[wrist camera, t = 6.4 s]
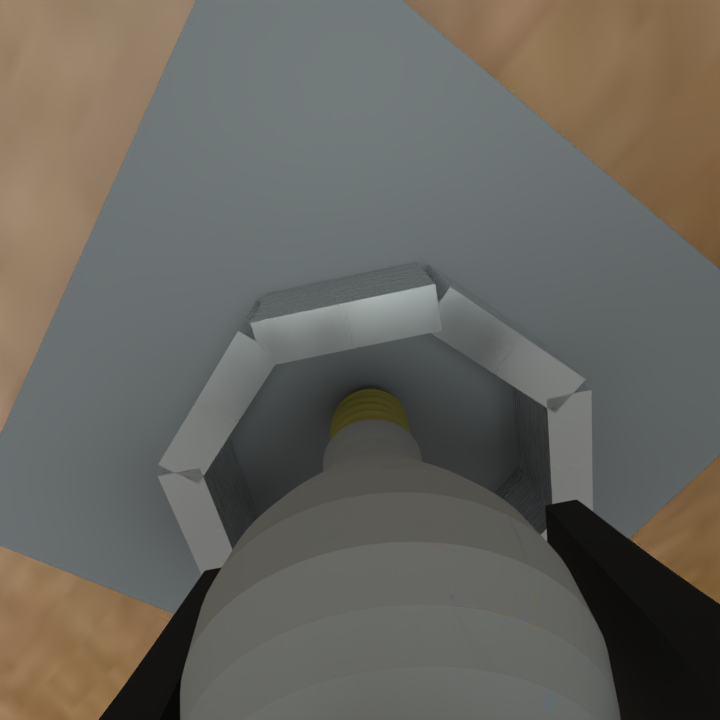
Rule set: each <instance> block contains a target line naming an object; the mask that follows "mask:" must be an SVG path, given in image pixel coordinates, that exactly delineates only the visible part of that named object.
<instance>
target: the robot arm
mask: <svg viewBox="0 0 720 720" xmlns="http://www.w3.org/2000/svg"><path fill="white" fill-rule="evenodd" d="M545 512H546V529H547V542H548V544H549V545H550V546H551V547H552V548H553V549H554V550H555V551H556V553H557V554H558V555H559V556H560V557H561V559H562V560H563V562H564V563H565V565H566V566H567V568H568V569H569V571H570V573H571V575H572V577H573V579H574V581H575V582H576V584H577V586H578V588H579V590H580V592H581V594H582V596H583V598H584V600H585V602H586V604H587V606H588V607H589V609H590V611H591V613H592V615H593V617H594V619H595V621H596V623H597V625H598V627H599V629H600V631H601V633H602V635H603V637H604V641H605V644H606V647H607V651H608V655H609V660H610V665H611V670H612V675H613V680H614V685H615V690H616V695H617V700H618V705H619V711H620V718H621V720H720V604H719V603H717V602H716V601H714V600H713V599H711V598H710V597H708V596H707V595H705V594H704V593H703V592H701V591H700V590H698V589H697V588H695V587H694V586H693V585H691V584H690V583H688V582H687V581H686V580H684V579H683V578H681V577H680V576H679V575H677V574H676V573H674V572H673V571H671V570H670V569H669V568H667V567H666V566H664V565H663V564H662V563H660V562H659V561H658V560H656V559H655V558H653V557H652V556H651V555H649V554H648V553H647V552H645V551H644V550H643V549H641V548H640V547H639V546H637V545H636V544H635V543H633V542H632V541H631V540H629V539H628V538H627V537H625V536H624V535H623V534H622V533H620V532H619V531H618V530H616V529H615V528H614V527H612V526H611V525H610V524H609V523H607V522H606V521H605V520H603V519H602V518H601V517H599V516H598V515H597V514H596V513H594V512H593V511H592V510H590V509H589V508H588V507H587V506H585V505H584V504H583V503H581V502H580V501H578V500H577V499H576V500H571V501H565V502H560V503H555V504H550V505H545ZM221 568H222V567H221ZM221 568H215V569H210V570H205V571H204V572H203V574H202V575H201V577H200V578H199V580H198V581H197V582H196V584H195V585H194V587H193V588H192V589H191V591H190V592H189V594H188V595H187V597H186V598H185V600H184V601H183V602H182V604H181V605H180V607H179V608H178V610H177V611H176V613H175V614H174V616H173V617H172V619H171V620H170V621H169V623H168V624H167V626H166V627H165V629H164V630H163V632H162V633H161V634H160V636H159V637H158V639H157V640H156V642H155V643H154V645H153V646H152V647H151V649H150V650H149V652H148V653H147V654H146V656H145V657H144V659H143V660H142V661H141V663H140V664H139V666H138V667H137V668H136V670H135V671H134V673H133V674H132V675H131V677H130V678H129V680H128V681H127V683H126V684H125V685H124V687H123V688H122V689H121V691H120V692H119V693H118V695H117V696H116V697H115V699H114V700H113V701H112V703H111V704H110V705H109V707H108V708H107V709H106V711H105V712H104V713H103V715H102V716H101V717H100V718H99V720H180V689H181V679H182V675H183V671H184V667H185V663H186V659H187V656H188V652H189V649H190V645H191V642H192V638H193V635H194V631H195V628H196V624H197V621H198V617H199V614H200V610H201V607H202V604H203V602H204V599H205V597H206V594H207V592H208V590H209V588H210V587H211V585H212V583H213V581H214V579H215V578H216V576H217V575H218V573H219V571H220V570H221Z"/></svg>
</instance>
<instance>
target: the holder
mask: <svg viewBox="0 0 720 720" xmlns="http://www.w3.org/2000/svg"><path fill="white" fill-rule="evenodd" d="M367 388H375V389H380V390H384V391H386V392H388V393H391V394H392V395H394V396H395V397H396V398H397V399H398V400H399V401H400V402H401V403H402V405H403V407H404V408H405V411H406V415H407V418H408V425H409V430H410V432H411V435H412V436H413V438H414V439H415V441H416V442H417V444H418V446H419V449H420V453H421V457H422V462H425V463H428V464H431V465H434V466H437V467H440V468H443V469H446V470H449V471H451V472H453V473H456V474H458V475H460V476H462V477H464V478H466V479H468V480H470V481H472V482H474V483H476V484H478V485H480V486H482V487H484V488H486V489H488V490H489V491H491V492H493V493H495V494H496V495H498V496H499V497H501V498H502V499H504V500H505V501H506V502H508V503H509V504H510V505H511V506H513V507H514V508H515V509H516V510H517V511H518V512H519V513H520V514H521V515H522V516H523V517H524V518H525V519H526V520H527V521H528V522H529V523H530V524H531V525H532V526H533V528H534V529H535V530H536V531H537V532H538V533H539V534H540V535H541V536H542V537H543V538H544V539H545V540H546V541H547V529H546V512H545V505H550V504H555V503H560V502H565V501H571V500H576V499H577V500H578V501H580V502H581V503H583V504H584V505H585V506H587V507H588V508H589V509H590V510H592V511H593V512H594V513H596V514H597V515H598V516H599V517H601V518H602V519H603V520H605V521H606V522H607V523H609V524H610V525H611V526H612V527H614V528H615V529H616V530H618V531H619V532H620V533H622V534H623V535H624V536H625V537H627V538H628V539H630V538H631V537H632V536H633V535H634V534H635V533H636V532H637V531H638V530H639V529H640V528H641V527H642V526H644V525H645V524H646V523H647V522H648V521H649V520H650V519H651V518H652V517H653V516H654V515H655V514H656V513H657V512H659V511H660V510H661V509H662V508H663V507H664V506H665V505H666V504H667V503H668V502H669V501H670V500H671V499H673V498H674V497H675V496H676V495H677V494H678V493H679V492H680V491H681V490H682V489H683V488H684V487H685V486H687V485H688V484H689V483H690V482H691V481H692V480H693V479H694V478H695V477H696V476H697V475H698V474H699V473H701V472H702V471H703V470H704V469H705V468H706V467H707V466H708V465H709V464H710V463H711V462H712V461H713V460H714V459H716V458H717V457H718V456H719V455H720V269H719V268H718V267H717V266H715V265H714V264H713V263H712V262H711V261H710V260H708V259H707V258H706V257H705V256H704V255H702V254H701V253H700V252H699V251H698V250H697V249H695V248H694V247H693V246H692V245H691V244H689V243H688V242H687V241H686V240H685V239H684V238H682V237H681V236H680V235H679V234H678V233H676V232H675V231H674V230H673V229H672V228H671V227H669V226H668V225H667V224H666V223H665V222H664V221H662V220H661V219H660V218H659V217H658V216H656V215H655V214H654V213H653V212H652V211H651V210H649V209H648V208H647V207H646V206H645V205H643V204H642V203H641V202H640V201H639V200H638V199H636V198H635V197H634V196H633V195H632V194H630V193H629V192H628V191H627V190H626V189H625V188H623V187H622V186H621V185H620V184H619V183H617V182H616V181H615V180H614V179H613V178H612V177H610V176H609V175H608V174H607V173H606V172H604V171H603V170H602V169H601V168H600V167H599V166H597V165H596V164H595V163H594V162H593V161H591V160H590V159H589V158H588V157H587V156H586V155H584V154H583V153H582V152H581V151H580V150H578V149H577V148H576V147H575V146H574V145H573V144H571V143H570V142H569V141H568V140H567V139H565V138H564V137H563V136H562V135H561V134H560V133H558V132H557V131H556V130H555V129H554V128H552V127H551V126H550V125H549V124H548V123H547V122H545V121H544V120H543V119H542V118H541V117H540V116H538V115H537V114H536V113H535V112H534V111H532V110H531V109H530V108H529V107H528V106H527V105H525V104H524V103H523V102H522V101H521V100H519V99H518V98H517V97H516V96H515V95H514V94H512V93H511V92H510V91H509V90H508V89H506V88H505V87H504V86H503V85H502V84H501V83H499V82H498V81H497V80H496V79H495V78H493V77H492V76H491V75H490V74H489V73H488V72H486V71H485V70H484V69H483V68H482V67H480V66H479V65H478V64H477V63H476V62H475V61H473V60H472V59H471V58H470V57H469V56H467V55H466V54H465V53H464V52H463V51H462V50H460V49H459V48H458V47H457V46H456V45H454V44H453V43H452V42H451V41H450V40H449V39H447V38H446V37H445V36H444V35H443V34H441V33H440V32H439V31H438V30H437V29H436V28H434V27H433V26H432V25H431V24H430V23H429V22H427V21H426V20H425V19H424V18H423V17H421V16H420V15H419V14H418V13H417V12H416V11H414V10H413V9H412V8H411V7H410V6H408V5H407V4H406V3H405V2H404V1H403V0H196V1H195V3H194V5H193V7H192V10H191V12H190V14H189V16H188V19H187V21H186V23H185V25H184V27H183V30H182V32H181V34H180V36H179V39H178V41H177V43H176V45H175V47H174V50H173V52H172V54H171V56H170V59H169V61H168V63H167V65H166V67H165V70H164V72H163V74H162V76H161V79H160V81H159V83H158V85H157V87H156V90H155V92H154V94H153V96H152V99H151V101H150V103H149V105H148V107H147V110H146V112H145V114H144V116H143V119H142V121H141V123H140V125H139V127H138V130H137V132H136V134H135V136H134V139H133V141H132V143H131V145H130V148H129V150H128V152H127V154H126V156H125V159H124V161H123V163H122V165H121V168H120V170H119V172H118V174H117V176H116V179H115V181H114V183H113V185H112V188H111V190H110V192H109V194H108V196H107V199H106V201H105V203H104V205H103V208H102V210H101V212H100V214H99V216H98V219H97V221H96V223H95V225H94V228H93V230H92V232H91V234H90V236H89V239H88V241H87V243H86V245H85V248H84V250H83V252H82V254H81V256H80V259H79V261H78V263H77V265H76V268H75V270H74V272H73V274H72V276H71V279H70V281H69V283H68V285H67V288H66V290H65V292H64V294H63V297H62V299H61V301H60V303H59V305H58V308H57V310H56V312H55V314H54V317H53V319H52V321H51V323H50V325H49V328H48V330H47V332H46V334H45V337H44V339H43V341H42V343H41V345H40V348H39V350H38V352H37V354H36V357H35V359H34V361H33V363H32V365H31V368H30V370H29V372H28V374H27V377H26V379H25V381H24V383H23V385H22V388H21V390H20V392H19V394H18V397H17V399H16V401H15V403H14V405H13V408H12V410H11V412H10V414H9V417H8V419H7V421H6V423H5V425H4V428H3V430H2V432H1V434H0V546H3V547H5V548H8V549H11V550H13V551H16V552H18V553H21V554H23V555H26V556H28V557H31V558H33V559H36V560H39V561H41V562H44V563H46V564H49V565H51V566H54V567H56V568H59V569H61V570H64V571H67V572H69V573H72V574H74V575H77V576H79V577H82V578H84V579H87V580H89V581H92V582H94V583H97V584H100V585H102V586H105V587H107V588H110V589H112V590H115V591H117V592H120V593H122V594H125V595H128V596H130V597H133V598H135V599H138V600H140V601H143V602H145V603H148V604H150V605H153V606H156V607H158V608H161V609H163V610H166V611H168V612H171V613H173V614H175V613H176V611H177V610H178V608H179V607H180V605H181V604H182V602H183V601H184V600H185V598H186V597H187V595H188V594H189V592H190V591H191V589H192V588H193V587H194V585H195V584H196V582H197V581H198V580H199V578H200V577H201V575H202V574H203V572H204V571H205V570H210V569H215V568H221V567H222V566H223V565H224V563H225V562H226V560H227V558H228V557H229V555H230V553H231V552H232V550H233V549H234V547H235V545H236V544H237V542H238V541H239V539H240V538H241V537H242V535H243V534H244V532H245V531H246V530H247V529H248V528H249V527H250V526H251V524H252V523H253V522H254V521H255V520H256V519H257V518H258V517H260V516H261V515H262V514H263V513H264V512H265V511H266V510H267V509H269V508H270V507H271V506H273V505H274V504H275V503H276V502H278V501H279V500H280V499H281V498H283V497H284V496H285V495H287V494H288V493H289V492H291V491H292V490H293V489H295V488H296V487H297V486H299V485H300V484H302V483H304V482H306V481H307V480H309V479H311V478H313V477H314V476H316V475H318V474H320V473H322V472H323V457H324V453H325V449H326V447H327V445H328V443H329V442H330V426H331V422H332V417H333V414H334V411H335V409H336V408H337V406H338V405H339V403H340V402H341V401H342V400H343V399H344V398H345V397H347V396H348V395H350V394H352V393H353V392H355V391H358V390H361V389H367Z"/></svg>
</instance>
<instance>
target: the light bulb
mask: <svg viewBox="0 0 720 720" xmlns="http://www.w3.org/2000/svg"><path fill="white" fill-rule="evenodd" d="M180 720H621V718H620V711H619V705H618V700H617V695H616V690H615V685H614V680H613V675H612V670H611V665H610V660H609V655H608V651H607V647H606V644H605V641H604V637H603V635H602V633H601V631H600V629H599V627H598V625H597V623H596V621H595V619H594V617H593V615H592V613H591V611H590V609H589V607H588V606H587V604H586V602H585V600H584V598H583V596H582V594H581V592H580V590H579V588H578V586H577V584H576V582H575V581H574V579H573V577H572V575H571V573H570V571H569V569H568V568H567V566H566V565H565V563H564V562H563V560H562V559H561V557H560V556H559V555H558V554H557V553H556V551H555V550H554V549H553V548H552V547H551V546H550V545H549V544H548V542H547V541H546V540H545V539H544V538H543V537H542V536H541V535H540V534H539V533H538V532H537V531H536V530H535V529H534V528H533V526H532V525H531V524H530V523H529V522H528V521H527V520H526V519H525V518H524V517H523V516H522V515H521V514H520V513H519V512H518V511H517V510H516V509H515V508H514V507H513V506H511V505H510V504H509V503H508V502H506V501H505V500H504V499H502V498H501V497H499V496H498V495H496V494H495V493H493V492H491V491H489V490H488V489H486V488H484V487H482V486H480V485H478V484H476V483H474V482H472V481H470V480H468V479H466V478H464V477H462V476H460V475H458V474H456V473H453V472H451V471H449V470H446V469H443V468H440V467H437V466H434V465H431V464H428V463H425V462H422V457H421V453H420V449H419V446H418V444H417V442H416V441H415V439H414V438H413V436H412V435H411V432H410V430H409V425H408V418H407V415H406V411H405V408H404V407H403V405H402V403H401V402H400V401H399V400H398V399H397V398H396V397H395V396H394V395H392V394H391V393H388V392H386V391H384V390H380V389H375V388H367V389H361V390H358V391H355V392H353V393H352V394H350V395H348V396H347V397H345V398H344V399H343V400H342V401H341V402H340V403H339V405H338V406H337V408H336V409H335V411H334V414H333V417H332V422H331V426H330V442H329V443H328V445H327V447H326V449H325V453H324V457H323V472H322V473H320V474H318V475H316V476H314V477H313V478H311V479H309V480H307V481H306V482H304V483H302V484H300V485H299V486H297V487H296V488H295V489H293V490H292V491H291V492H289V493H288V494H287V495H285V496H284V497H283V498H281V499H280V500H279V501H278V502H276V503H275V504H274V505H273V506H271V507H270V508H269V509H267V510H266V511H265V512H264V513H263V514H262V515H261V516H260V517H258V518H257V519H256V520H255V521H254V522H253V523H252V524H251V526H250V527H249V528H248V529H247V530H246V531H245V532H244V534H243V535H242V537H241V538H240V539H239V541H238V542H237V544H236V545H235V547H234V549H233V550H232V552H231V553H230V555H229V557H228V558H227V560H226V562H225V563H224V565H223V566H222V568H221V570H220V571H219V573H218V575H217V576H216V578H215V579H214V581H213V583H212V585H211V587H210V588H209V590H208V592H207V594H206V597H205V599H204V602H203V604H202V607H201V610H200V614H199V617H198V621H197V624H196V628H195V631H194V635H193V638H192V642H191V645H190V649H189V652H188V656H187V659H186V663H185V667H184V671H183V675H182V679H181V689H180Z"/></svg>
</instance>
